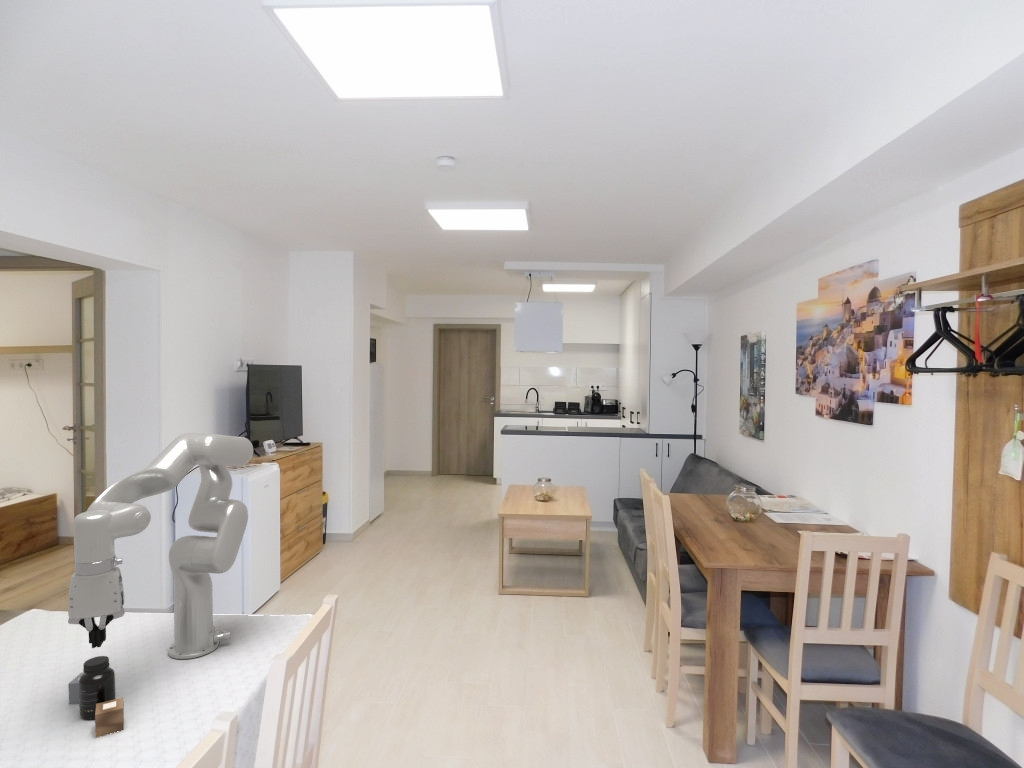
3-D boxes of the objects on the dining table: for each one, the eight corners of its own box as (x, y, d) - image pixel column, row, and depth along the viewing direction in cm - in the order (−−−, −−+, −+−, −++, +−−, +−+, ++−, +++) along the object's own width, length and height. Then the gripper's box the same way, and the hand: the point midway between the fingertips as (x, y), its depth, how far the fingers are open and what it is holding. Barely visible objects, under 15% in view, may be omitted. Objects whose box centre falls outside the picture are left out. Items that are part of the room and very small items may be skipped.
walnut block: (123, 719, 135) (123, 696, 135) (123, 730, 131) (123, 707, 131) (96, 726, 133) (96, 703, 133) (95, 738, 128) (95, 714, 128)
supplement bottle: (91, 704, 141) (90, 653, 141) (121, 703, 142) (121, 652, 141) (72, 721, 134) (71, 668, 134) (104, 720, 135) (103, 667, 134)
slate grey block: (103, 691, 147) (103, 670, 146) (91, 703, 142) (91, 681, 141) (81, 693, 146) (80, 672, 146) (68, 704, 141) (68, 683, 141)
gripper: (136, 556, 143) (138, 632, 144) (60, 565, 138) (63, 643, 139) (130, 567, 136) (132, 646, 137) (49, 576, 131) (52, 659, 132)
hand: (97, 644), depth 138 cm, fingers closed
